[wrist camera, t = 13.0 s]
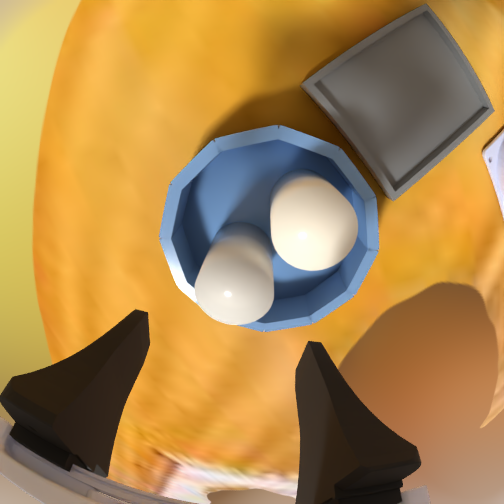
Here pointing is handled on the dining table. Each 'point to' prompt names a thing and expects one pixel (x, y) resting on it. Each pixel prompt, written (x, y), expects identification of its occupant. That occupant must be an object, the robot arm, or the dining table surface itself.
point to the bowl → (266, 217)
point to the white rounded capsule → (311, 221)
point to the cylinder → (237, 275)
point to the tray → (402, 98)
